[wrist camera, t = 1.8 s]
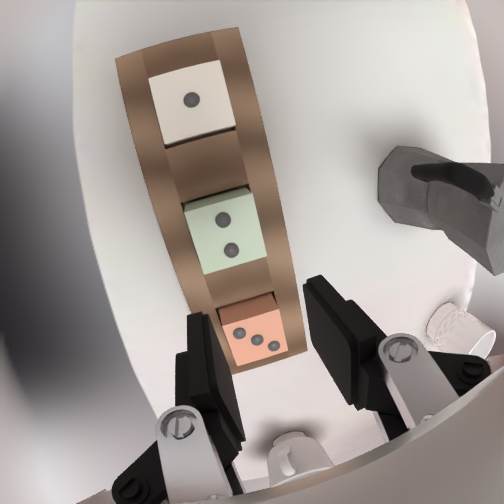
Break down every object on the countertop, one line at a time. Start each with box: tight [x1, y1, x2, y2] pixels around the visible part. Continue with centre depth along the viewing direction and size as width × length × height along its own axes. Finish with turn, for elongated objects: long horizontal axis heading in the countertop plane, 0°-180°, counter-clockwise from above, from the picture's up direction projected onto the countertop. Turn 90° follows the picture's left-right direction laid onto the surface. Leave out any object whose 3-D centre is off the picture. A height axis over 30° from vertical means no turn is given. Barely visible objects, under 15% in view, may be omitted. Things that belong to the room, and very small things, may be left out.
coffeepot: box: [378, 146, 504, 276], centre depth 20 cm, size 15×9×18 cm, turn 71°
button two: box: [184, 187, 267, 275], centre depth 23 cm, size 5×5×3 cm
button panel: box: [115, 27, 308, 375], centre depth 25 cm, size 32×10×3 cm, turn 13°
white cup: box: [426, 302, 496, 359], centre depth 34 cm, size 8×8×10 cm
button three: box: [219, 292, 288, 366], centre depth 26 cm, size 5×5×3 cm
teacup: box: [267, 431, 335, 487], centre depth 37 cm, size 12×15×10 cm
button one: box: [148, 60, 236, 145], centre depth 19 cm, size 5×5×3 cm
